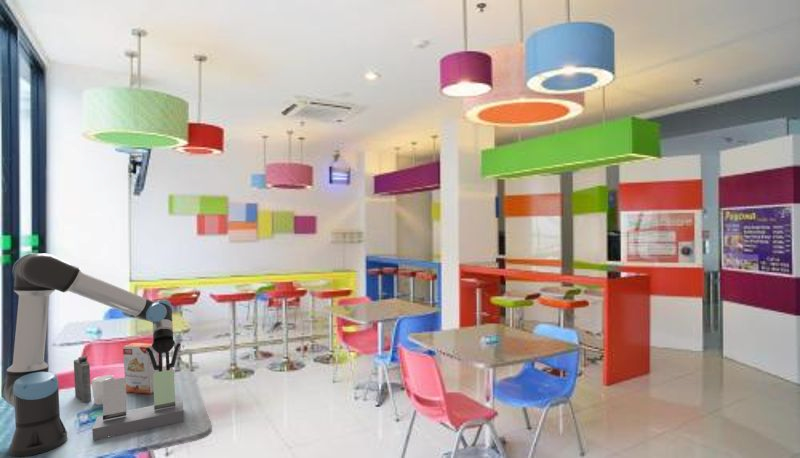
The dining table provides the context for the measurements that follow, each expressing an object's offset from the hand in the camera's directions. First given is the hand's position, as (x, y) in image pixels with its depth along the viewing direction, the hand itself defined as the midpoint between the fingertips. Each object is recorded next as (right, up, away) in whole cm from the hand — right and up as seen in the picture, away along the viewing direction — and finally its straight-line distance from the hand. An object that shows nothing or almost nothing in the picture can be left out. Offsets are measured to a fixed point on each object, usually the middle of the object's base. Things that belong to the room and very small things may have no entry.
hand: (164, 383), depth 176 cm
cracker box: (-23, -12, +24) cm, 35 cm away
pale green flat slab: (+4, -6, -7) cm, 10 cm away
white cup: (-33, -12, +14) cm, 38 cm away
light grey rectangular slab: (-10, -6, -14) cm, 19 cm away
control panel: (-3, -11, -11) cm, 16 cm away
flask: (-45, -13, +19) cm, 50 cm away
